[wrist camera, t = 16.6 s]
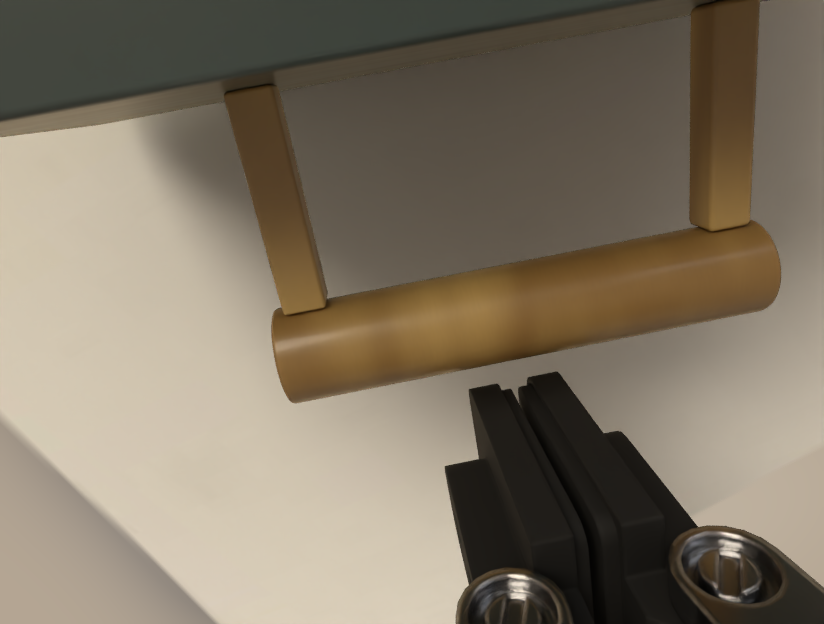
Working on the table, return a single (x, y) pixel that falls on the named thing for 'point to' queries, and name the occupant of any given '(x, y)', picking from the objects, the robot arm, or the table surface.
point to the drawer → (385, 51)
